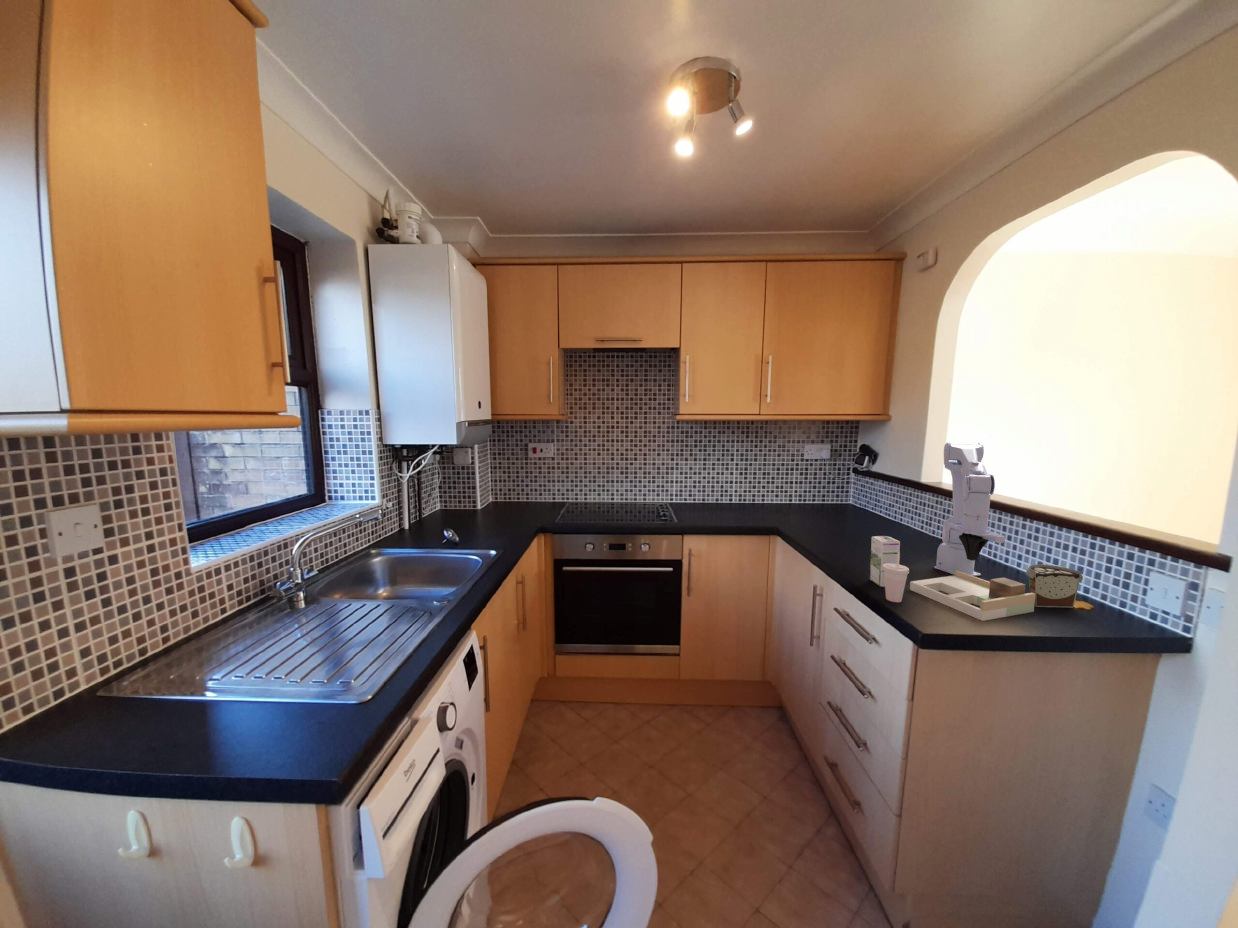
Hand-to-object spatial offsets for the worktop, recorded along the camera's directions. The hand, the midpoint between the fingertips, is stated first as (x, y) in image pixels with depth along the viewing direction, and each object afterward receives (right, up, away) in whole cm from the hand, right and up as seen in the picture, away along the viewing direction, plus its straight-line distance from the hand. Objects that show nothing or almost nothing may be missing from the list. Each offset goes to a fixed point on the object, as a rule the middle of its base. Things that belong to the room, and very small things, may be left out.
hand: (971, 559), depth 123 cm
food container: (+13, -10, -8) cm, 19 cm away
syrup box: (-22, -9, +7) cm, 25 cm away
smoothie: (-27, -11, -5) cm, 29 cm away
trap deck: (-6, -10, -6) cm, 13 cm away
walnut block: (-1, -8, -12) cm, 14 cm away
